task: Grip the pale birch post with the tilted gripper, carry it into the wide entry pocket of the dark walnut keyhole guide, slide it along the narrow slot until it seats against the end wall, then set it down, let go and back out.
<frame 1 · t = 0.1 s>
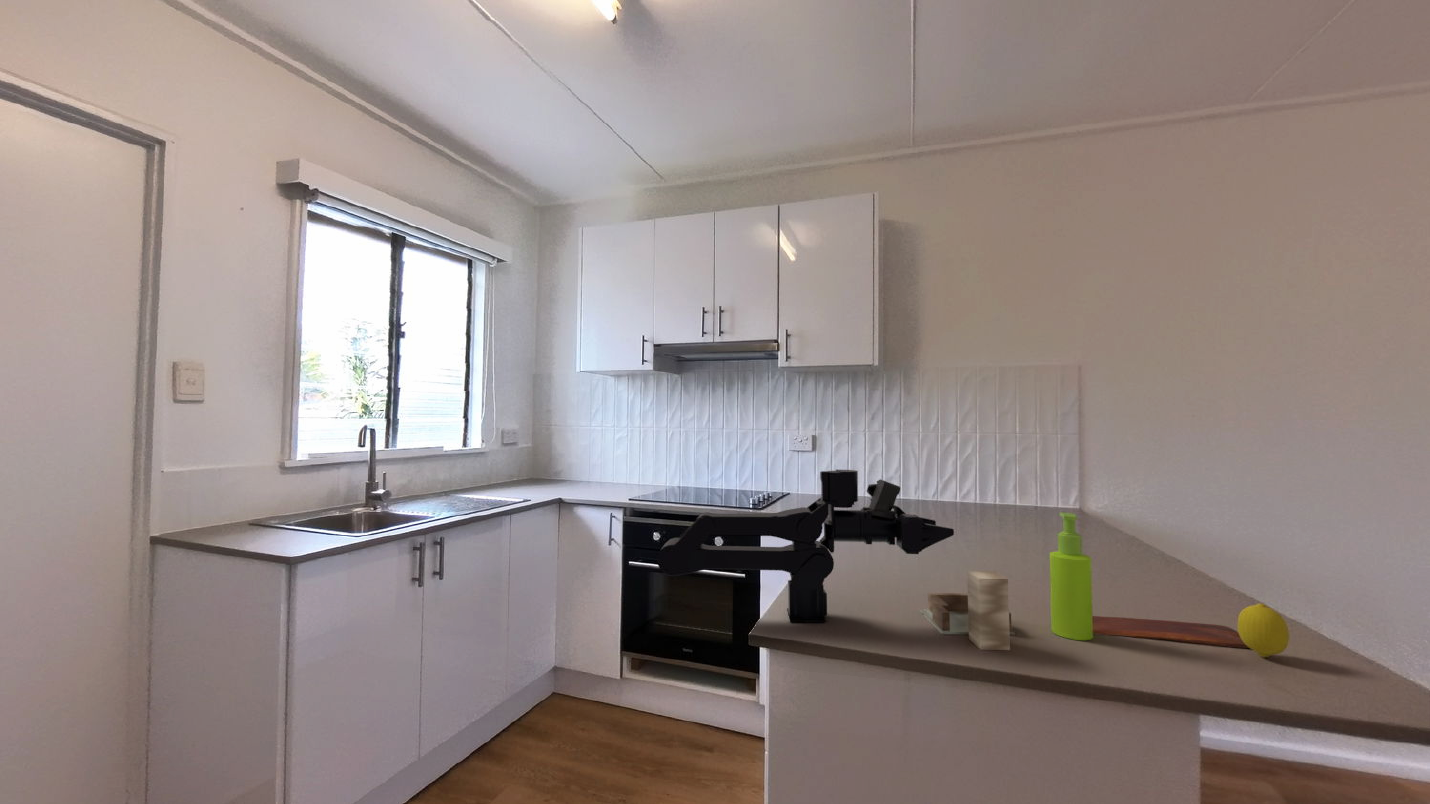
hand: (944, 527, 101), 17 cm above the counter, tool horizontal, fingers open, 9 cm apart
keyhole guide: (965, 623, 98), on the counter
soap dispenser: (1071, 633, 93), on the counter
wooden tablet: (1148, 634, 94), on the counter
lemon: (1264, 658, 83), on the counter
birch post: (988, 644, 88), on the counter
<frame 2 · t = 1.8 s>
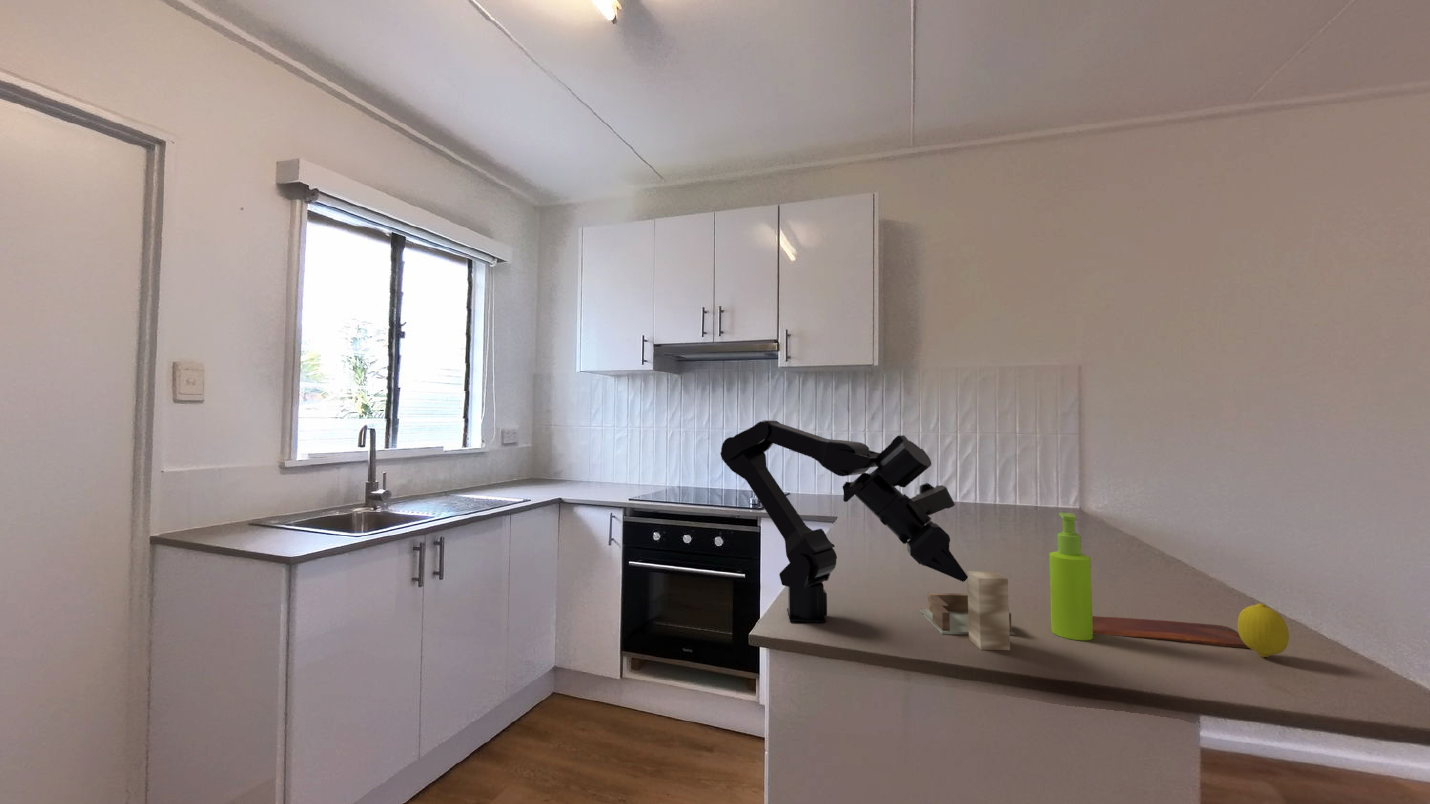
hand: (958, 572, 89), 11 cm above the counter, tool tilted 45°, fingers open, 9 cm apart
nothing on the counter moved.
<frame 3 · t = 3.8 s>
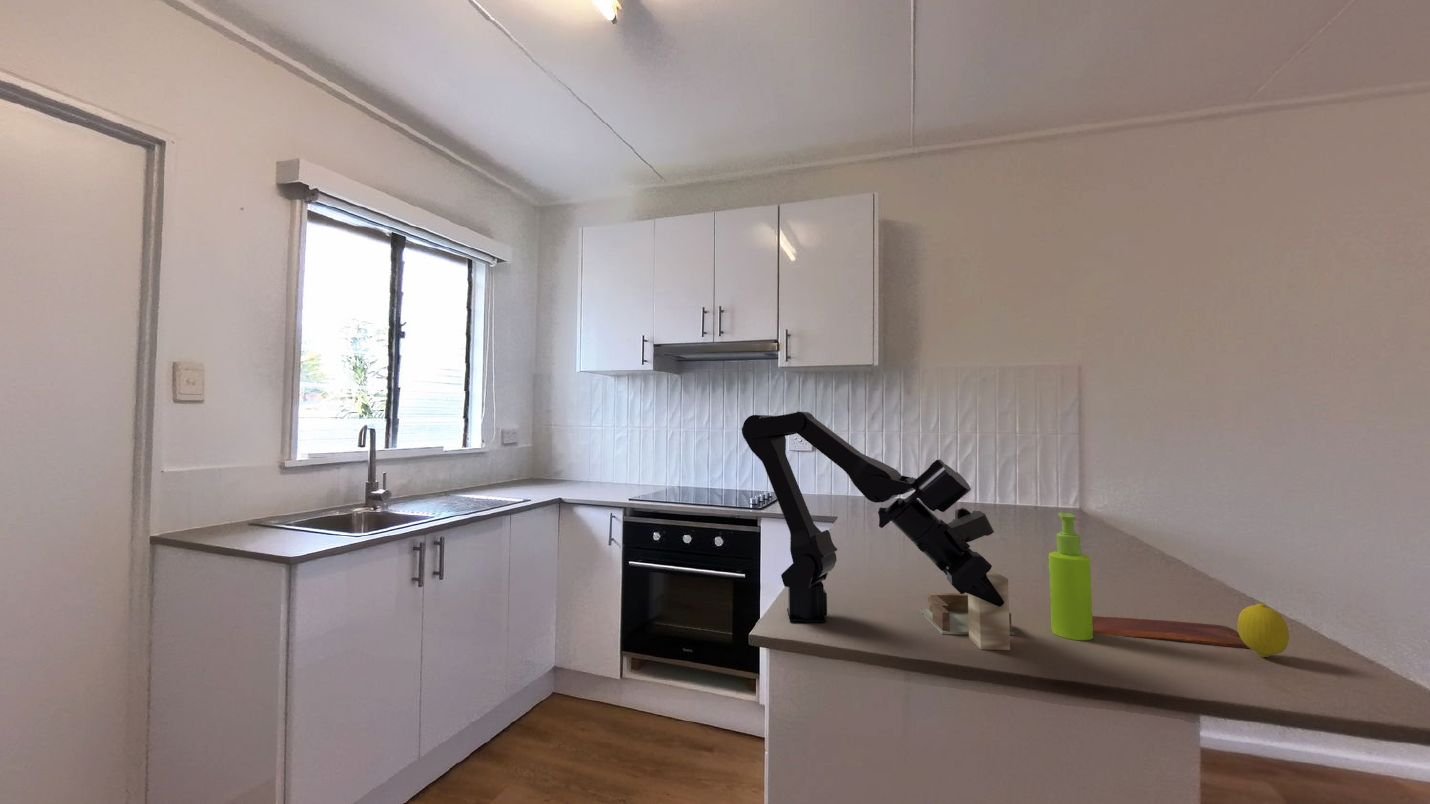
hand: (997, 599, 88), 7 cm above the counter, tool tilted 45°, fingers closed on birch post, 5 cm apart
birch post: (989, 644, 88), on the counter, touching gripper
everything else where it was.
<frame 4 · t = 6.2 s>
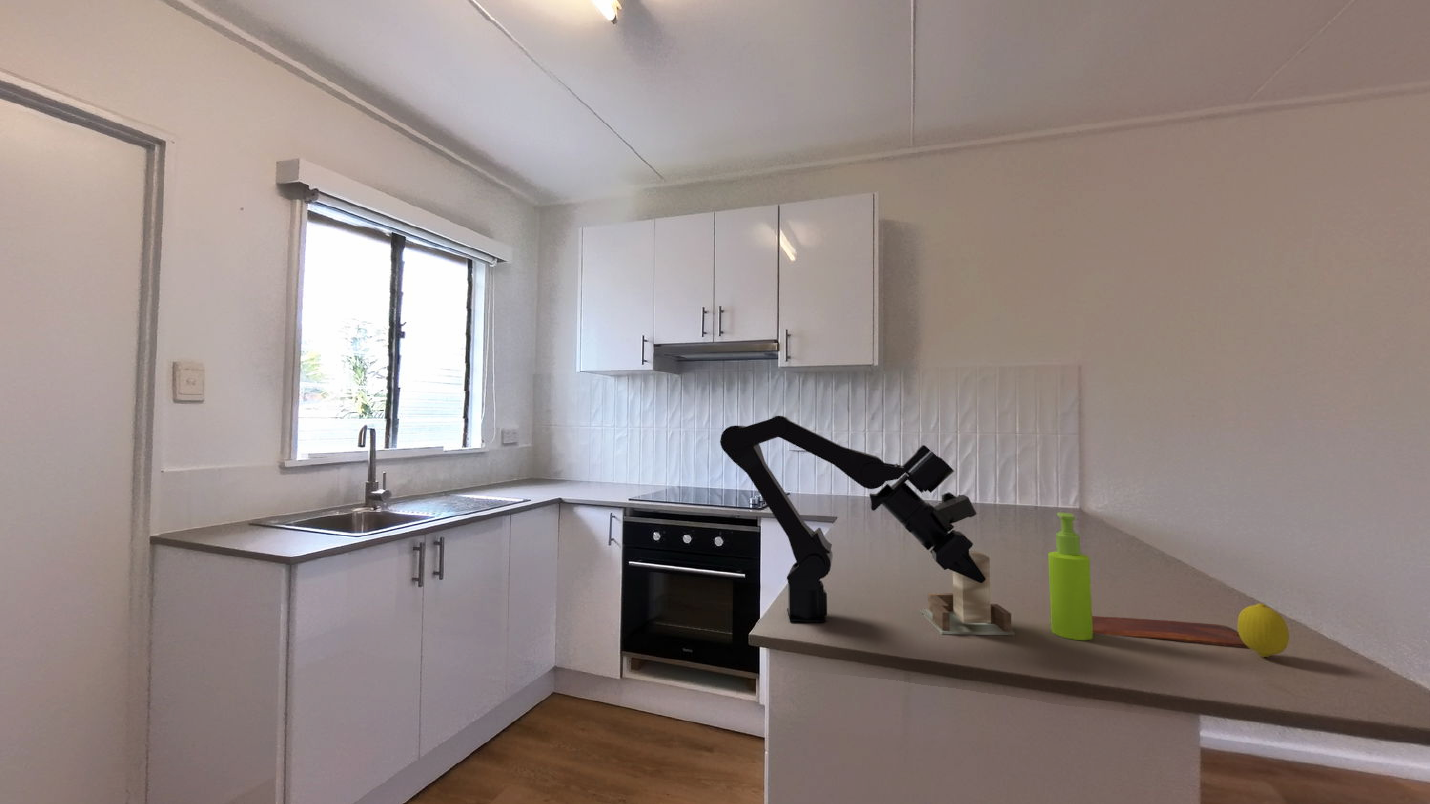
hand: (979, 577, 95), 9 cm above the counter, tool tilted 45°, fingers closed on birch post, 5 cm apart
birch post: (971, 618, 95), point 2 cm above the counter, touching gripper
everything else where it was.
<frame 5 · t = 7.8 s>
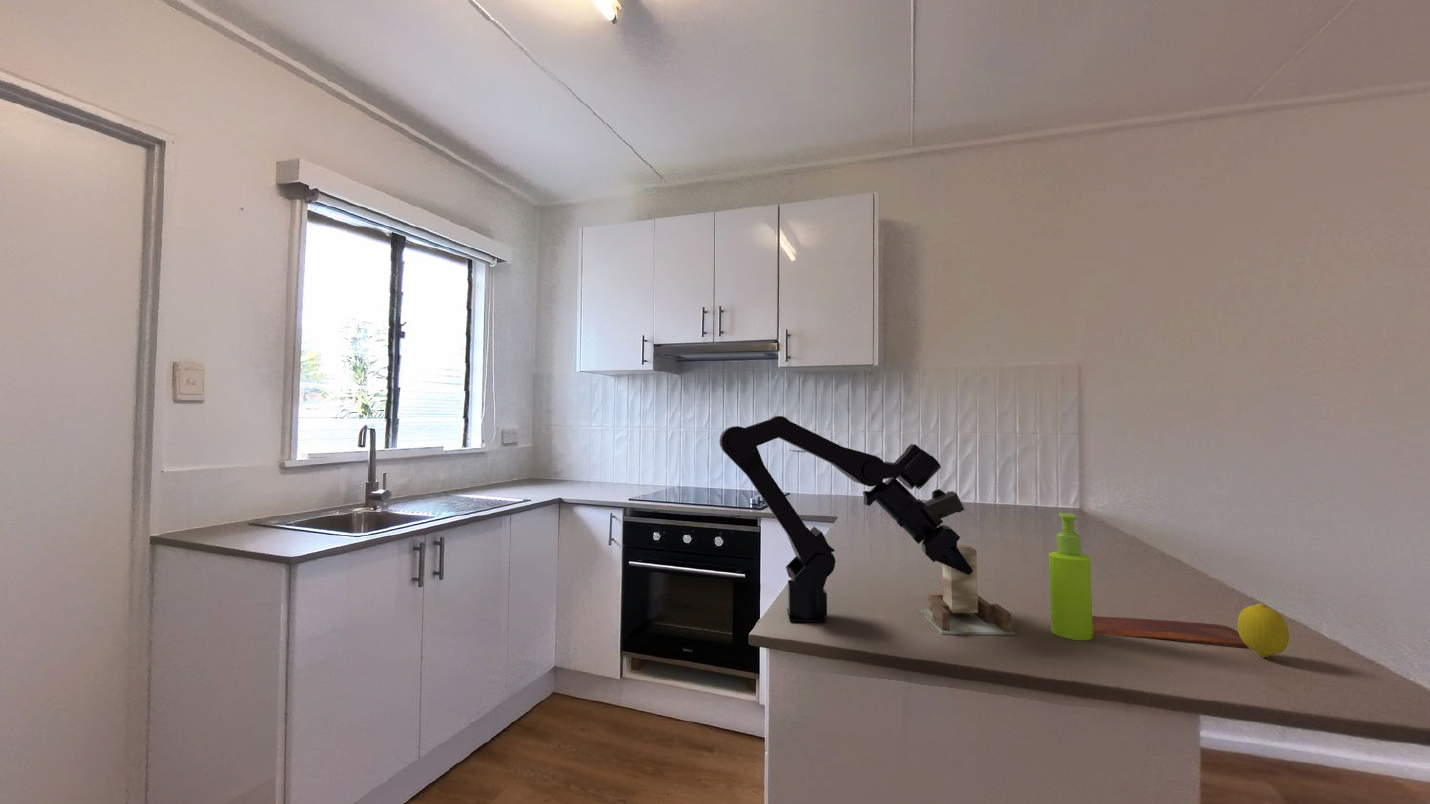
hand: (967, 569, 100), 9 cm above the counter, tool tilted 45°, fingers closed on birch post, 5 cm apart
birch post: (960, 608, 100), point 2 cm above the counter, touching gripper
everything else where it was.
when the fingers open (8 cm above the counter, at t = 9.1 s): birch post stays where it is, resting on keyhole guide.
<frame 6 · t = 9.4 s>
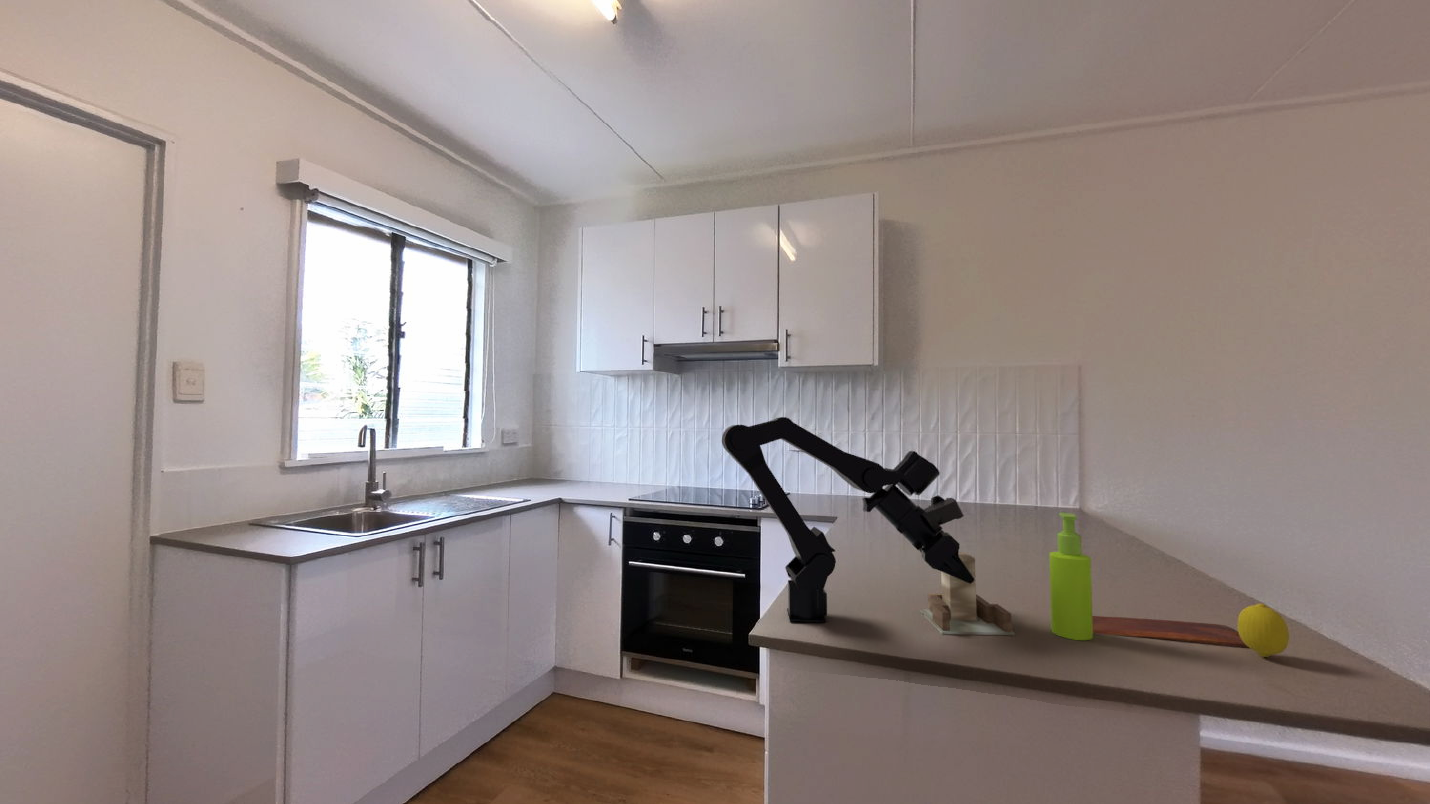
hand: (966, 575, 100), 8 cm above the counter, tool tilted 45°, fingers open, 8 cm apart
birch post: (959, 615, 100), resting on keyhole guide
everything else where it was.
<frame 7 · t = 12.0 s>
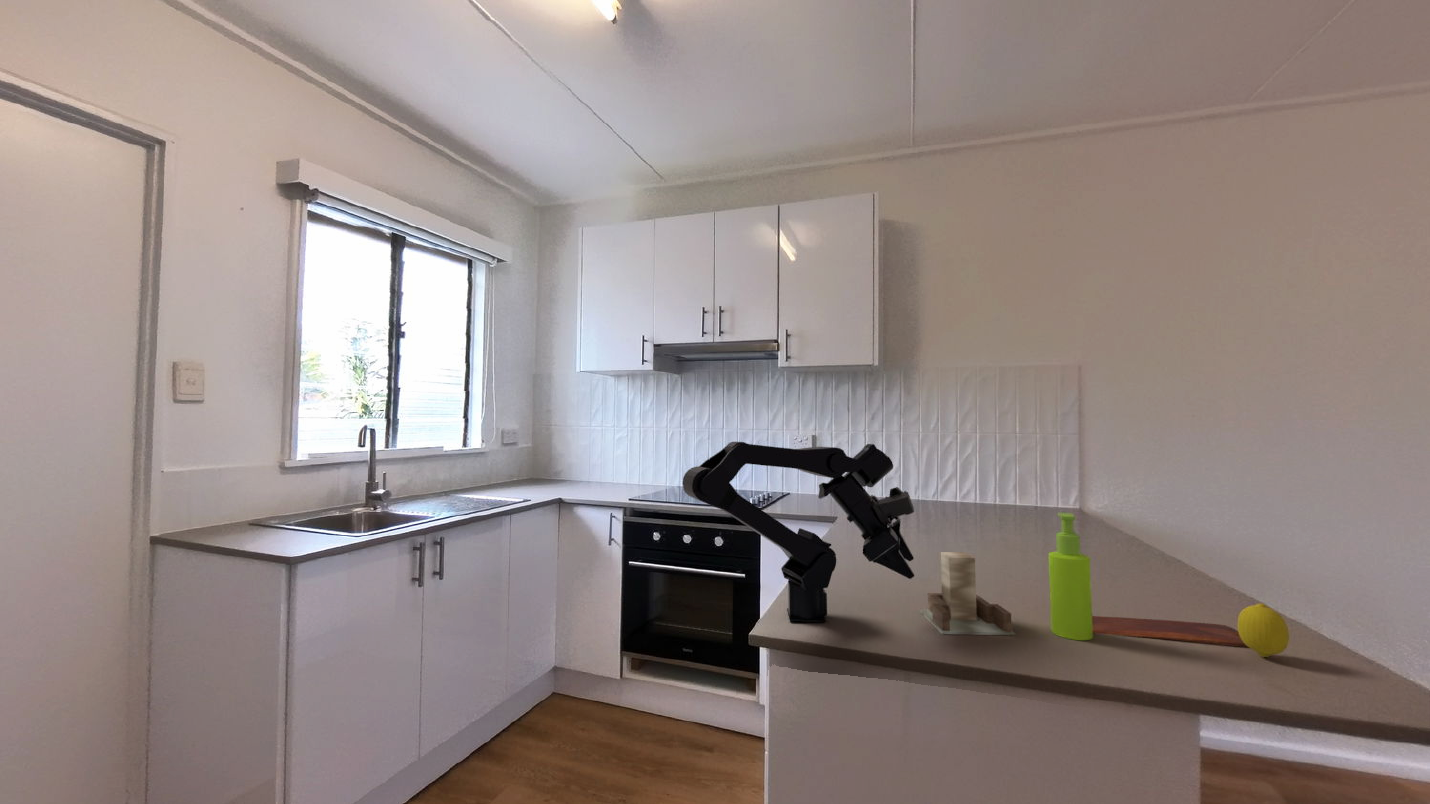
hand: (912, 568, 102), 9 cm above the counter, tool tilted 40°, fingers open, 9 cm apart
nothing on the counter moved.
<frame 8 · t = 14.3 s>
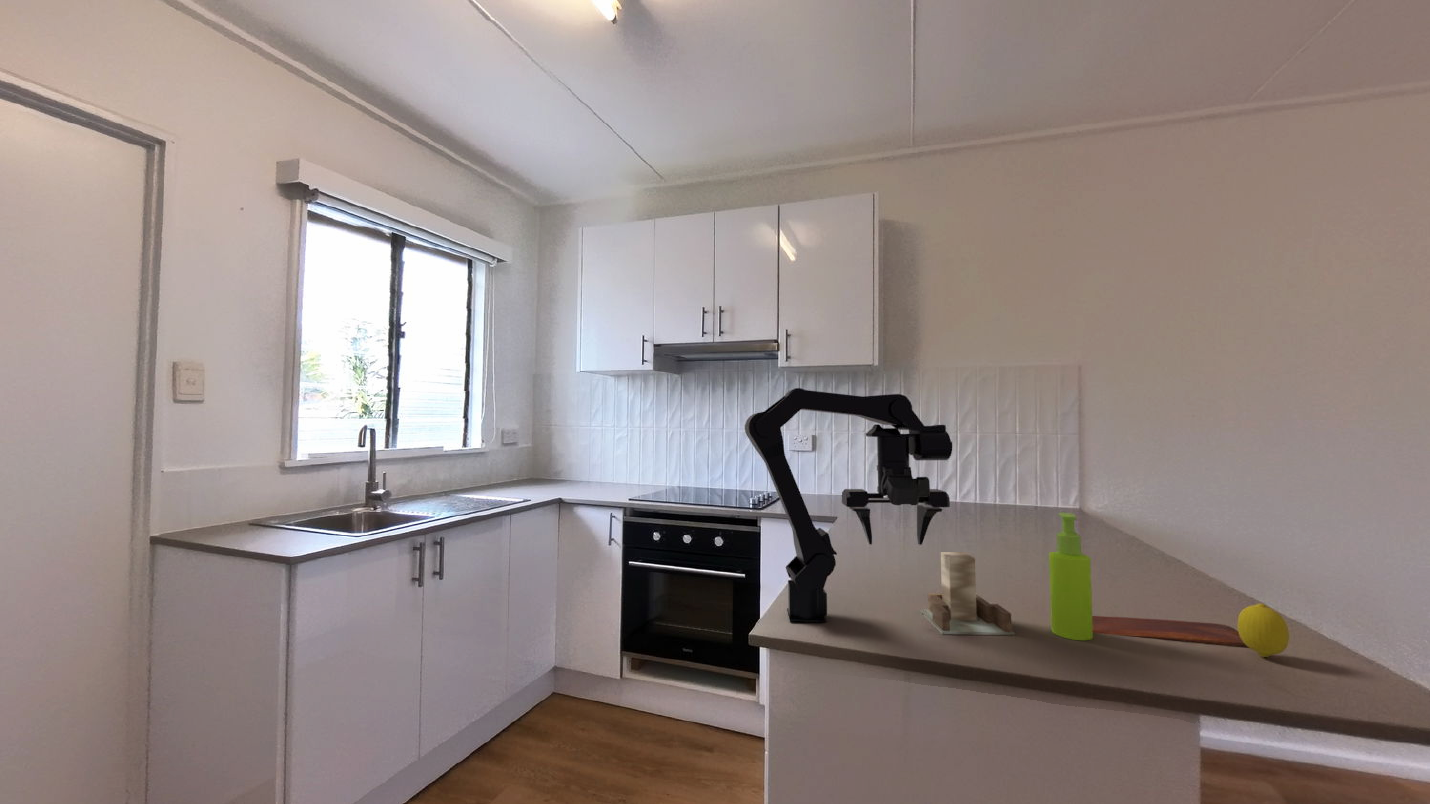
hand: (895, 544, 103), 13 cm above the counter, tool pointing down, fingers open, 9 cm apart
nothing on the counter moved.
at the end: birch post 0.4 cm from the target spot on the keyhole guide, point 0.4 cm above the keyhole guide's base; birch post tilted 0°; the gripper is holding nothing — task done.
